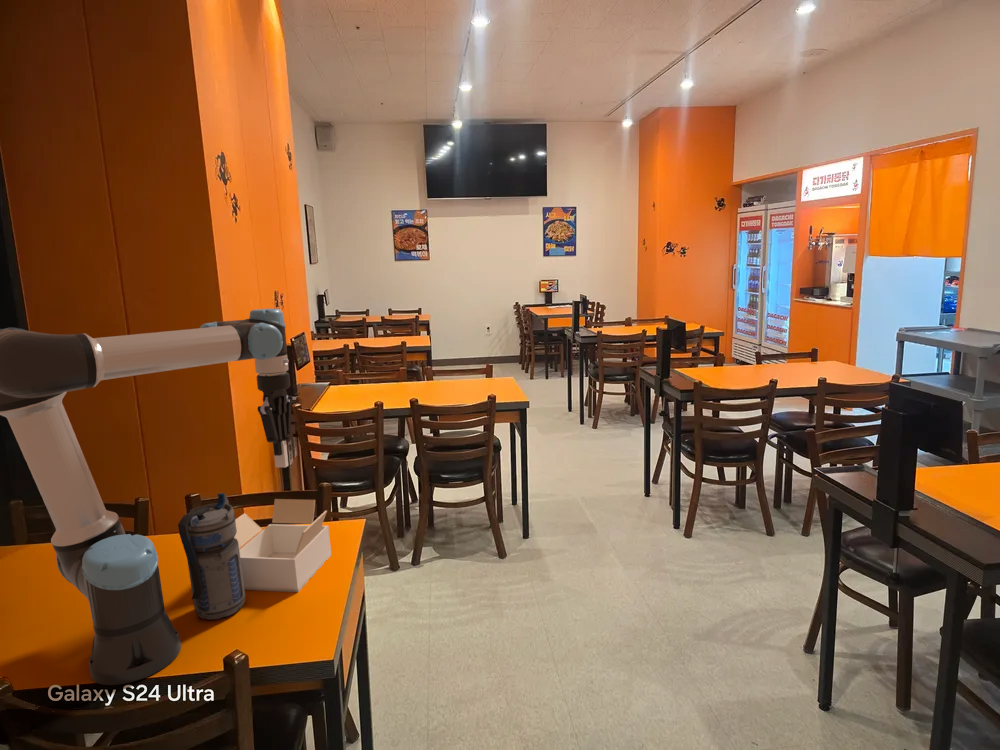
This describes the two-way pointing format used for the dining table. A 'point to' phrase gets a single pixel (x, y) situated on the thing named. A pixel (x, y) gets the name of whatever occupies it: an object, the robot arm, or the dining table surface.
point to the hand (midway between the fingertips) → (282, 466)
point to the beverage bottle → (213, 559)
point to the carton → (279, 555)
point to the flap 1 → (293, 511)
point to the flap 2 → (310, 532)
